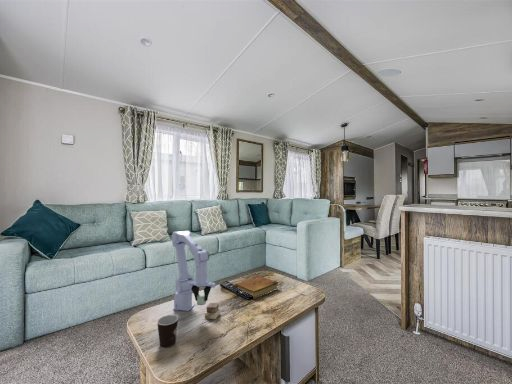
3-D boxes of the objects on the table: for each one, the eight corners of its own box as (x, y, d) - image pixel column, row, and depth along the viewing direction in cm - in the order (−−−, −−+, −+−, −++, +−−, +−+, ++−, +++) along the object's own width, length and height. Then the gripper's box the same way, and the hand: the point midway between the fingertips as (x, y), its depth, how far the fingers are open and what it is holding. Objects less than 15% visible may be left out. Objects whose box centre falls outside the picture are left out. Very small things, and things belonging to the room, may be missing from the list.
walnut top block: (206, 312, 125) (206, 306, 125) (209, 308, 130) (209, 302, 130) (215, 313, 124) (215, 307, 124) (218, 308, 129) (218, 303, 129)
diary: (259, 283, 176) (259, 275, 176) (278, 290, 162) (278, 282, 163) (235, 291, 160) (235, 283, 160) (253, 300, 146) (253, 290, 147)
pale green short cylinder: (195, 304, 121) (195, 297, 121) (199, 301, 125) (199, 293, 126) (203, 305, 120) (203, 297, 120) (207, 302, 124) (207, 294, 125)
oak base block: (204, 318, 125) (204, 312, 125) (209, 313, 131) (209, 307, 131) (215, 319, 123) (215, 313, 124) (219, 314, 129) (219, 308, 129)
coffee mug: (165, 351, 97) (165, 327, 97) (152, 345, 102) (152, 321, 102) (187, 337, 107) (187, 315, 107) (174, 332, 112) (175, 310, 112)
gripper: (185, 275, 121) (185, 302, 121) (211, 277, 118) (211, 304, 118) (191, 271, 128) (191, 296, 127) (216, 273, 125) (216, 299, 125)
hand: (201, 300), depth 123 cm, fingers closed on pale green short cylinder, 4 cm apart
